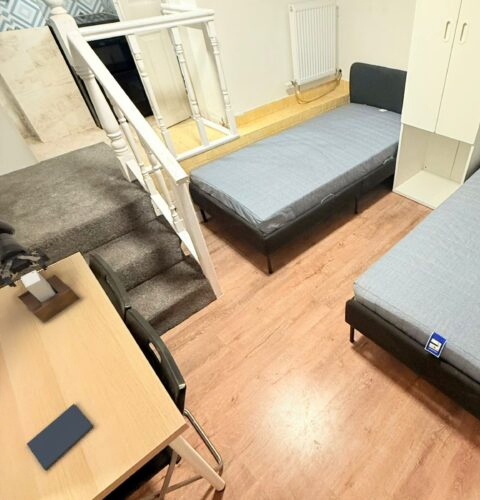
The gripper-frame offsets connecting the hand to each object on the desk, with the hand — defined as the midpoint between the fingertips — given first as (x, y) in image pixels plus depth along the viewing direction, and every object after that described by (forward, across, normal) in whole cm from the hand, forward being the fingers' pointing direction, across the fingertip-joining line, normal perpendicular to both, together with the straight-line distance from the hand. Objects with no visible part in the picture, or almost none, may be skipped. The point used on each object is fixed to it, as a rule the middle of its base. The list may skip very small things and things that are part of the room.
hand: (29, 276), depth 102 cm
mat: (+48, -15, +10) cm, 51 cm away
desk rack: (+4, 0, +10) cm, 11 cm away
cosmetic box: (+4, 0, +10) cm, 11 cm away
